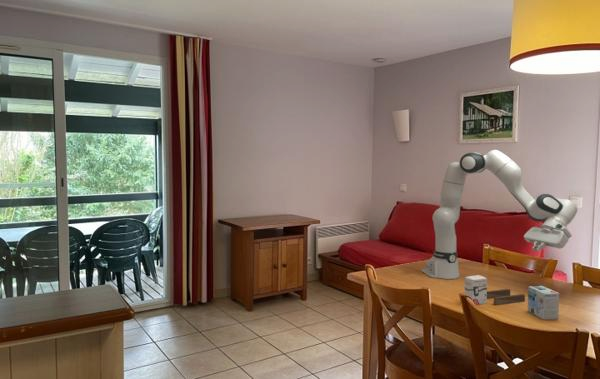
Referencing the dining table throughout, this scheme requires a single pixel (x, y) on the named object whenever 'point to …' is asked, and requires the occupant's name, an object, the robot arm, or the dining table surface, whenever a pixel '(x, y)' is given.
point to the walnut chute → (504, 297)
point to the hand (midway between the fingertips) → (535, 250)
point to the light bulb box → (543, 302)
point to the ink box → (476, 288)
